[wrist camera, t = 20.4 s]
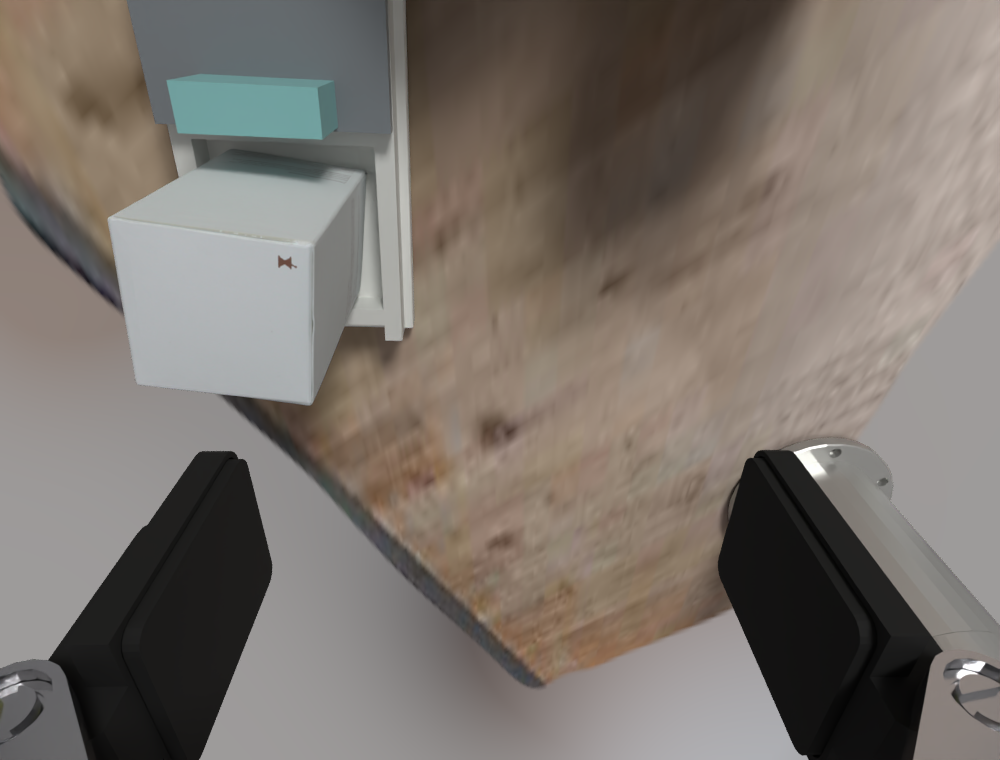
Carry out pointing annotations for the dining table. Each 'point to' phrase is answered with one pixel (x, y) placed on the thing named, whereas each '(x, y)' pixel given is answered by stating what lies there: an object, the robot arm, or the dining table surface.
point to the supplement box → (241, 275)
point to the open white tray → (386, 190)
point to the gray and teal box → (266, 66)
